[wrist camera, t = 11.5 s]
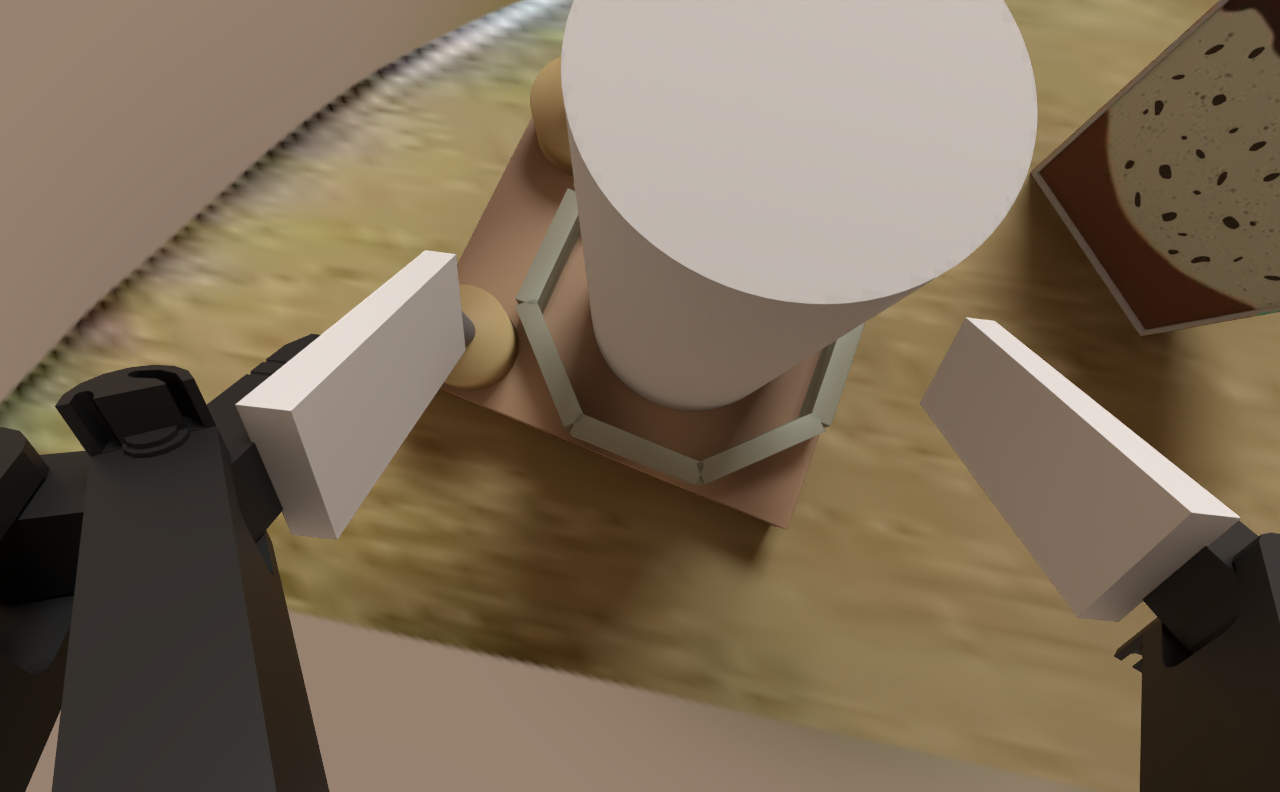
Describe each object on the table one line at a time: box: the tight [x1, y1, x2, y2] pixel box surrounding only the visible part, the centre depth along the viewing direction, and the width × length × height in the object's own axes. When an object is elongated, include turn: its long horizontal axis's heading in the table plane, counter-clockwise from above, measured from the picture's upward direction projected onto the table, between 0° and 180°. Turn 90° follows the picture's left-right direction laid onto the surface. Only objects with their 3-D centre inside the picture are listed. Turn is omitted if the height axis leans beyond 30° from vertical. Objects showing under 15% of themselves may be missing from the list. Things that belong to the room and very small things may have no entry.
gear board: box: [440, 57, 865, 529], centre depth 20 cm, size 16×15×5 cm
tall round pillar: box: [561, 0, 1037, 411], centre depth 14 cm, size 8×8×12 cm
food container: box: [1030, 0, 1280, 336], centre depth 19 cm, size 12×6×10 cm, turn 27°
